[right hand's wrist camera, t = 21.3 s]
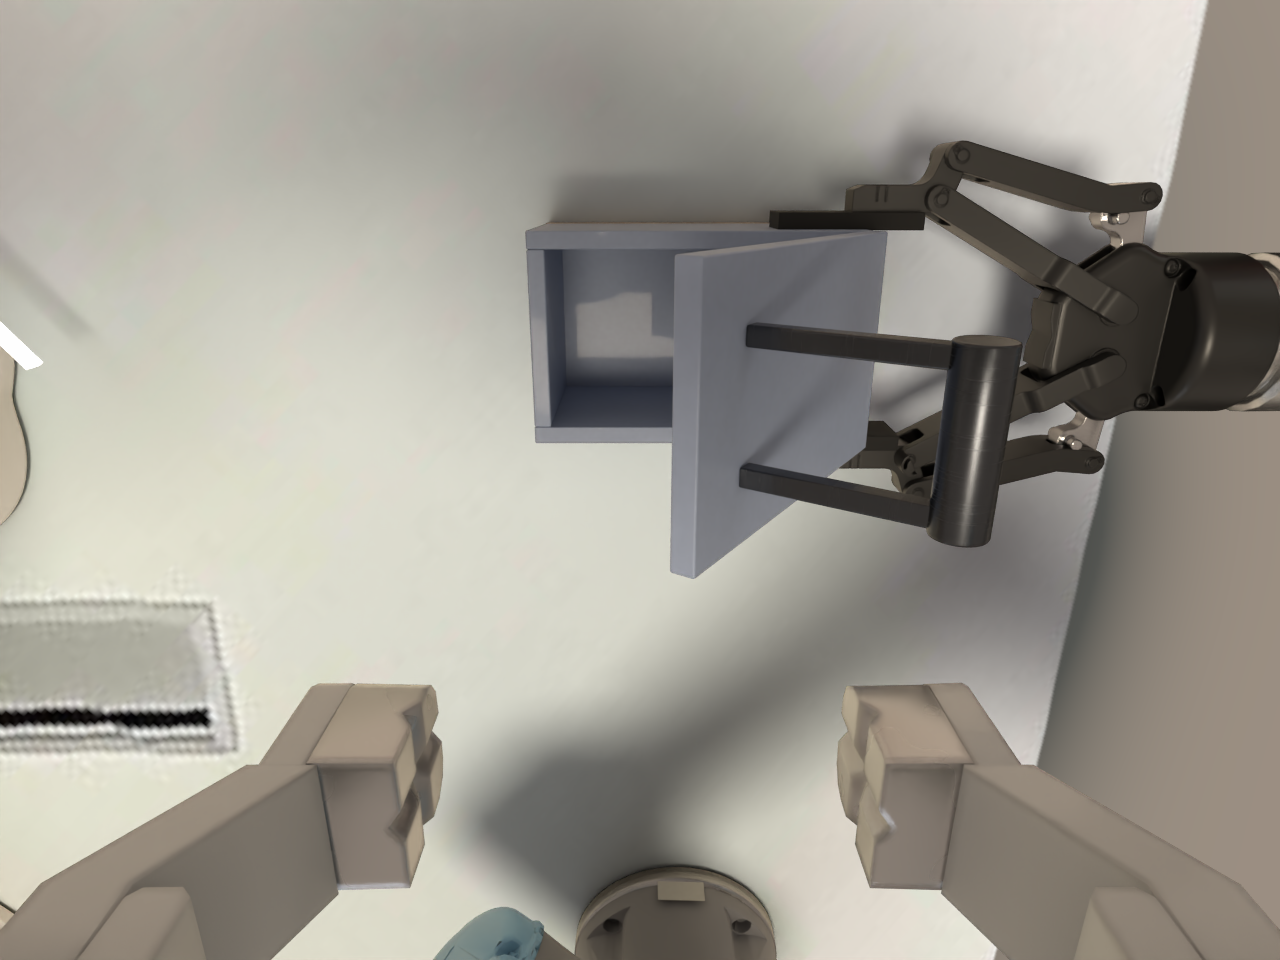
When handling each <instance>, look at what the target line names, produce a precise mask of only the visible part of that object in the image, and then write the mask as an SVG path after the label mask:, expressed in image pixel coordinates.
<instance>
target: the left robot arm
mask: <svg viewBox="0 0 1280 960" xmlns="http://www.w3.org/2000/svg"><path fill="white" fill-rule="evenodd" d="M929 160H930V163H929V166H928V168H927V170H926V172H925V174H924V176H923V177H922V178H921V179H920V180H919V181H918V182H916V183H914V184H910V185H856V186H853V187H851V188H848V189H846V198H845V209H844V211H770V221H769V227H771V228H775V229H867V230H924V223H925V217H927V218H929V219H930V220H932V221H933V222H935V223H937V224H938V225H940V226H941V227H943V228H945V229H946V230H948V231H949V232H951V233H953V234H954V235H956V236H957V237H959V238H961V239H962V240H964V241H965V242H967V243H969V244H970V245H972V246H973V247H975V248H977V249H978V250H980V251H981V252H983V253H985V254H986V255H988V256H989V257H991V258H993V259H994V260H996V261H997V262H999V263H1001V264H1002V265H1004V266H1005V267H1007V268H1008V269H1010V270H1012V271H1013V272H1015V273H1016V274H1018V275H1019V276H1020V278H1022V279H1023V280H1025V281H1026V282H1028V283H1030V284H1031V285H1033V286H1034V287H1036V288H1038V289H1039V290H1041V291H1042V292H1041V294H1040V296H1039V298H1034V299H1033V305H1032V310H1031V319H1032V332H1031V334H1030V336H1029V339H1028V341H1027V343H1026V346H1025V352H1024V357H1023V361H1025V362H1027V364H1025V365H1023V366H1021V367H1019V371H1018V377H1017V383H1016V389H1015V395H1014V401H1013V407H1012V413H1011V419H1010V423H1012V422H1014V421H1016V420H1018V419H1020V418H1022V417H1024V416H1026V415H1028V414H1031V413H1040V412H1044V411H1047V410H1049V409H1051V408H1053V407H1055V406H1057V405H1059V404H1061V403H1063V402H1064V403H1065V404H1067V405H1068V406H1069V407H1070V408H1071V409H1073V410H1074V411H1075V412H1076V415H1075V417H1074V418H1073V420H1072V421H1070V422H1069V423H1067V424H1063V425H1058V426H1056V427H1051V428H1050V429H1049V431H1048V435H1033V436H1027V437H1022V438H1018V439H1014V440H1010V441H1007V443H1006V449H1005V455H1004V461H1003V467H1002V473H1001V479H1000V485H1002V484H1006V483H1010V482H1014V481H1018V480H1023V479H1027V478H1031V477H1035V476H1039V475H1043V474H1047V473H1051V472H1056V471H1058V472H1070V473H1083V474H1094V473H1096V472H1098V471H1099V470H1100V469H1101V468H1102V467H1103V465H1104V460H1105V459H1104V456H1103V455H1102V454H1101V453H1100V452H1098V451H1097V450H1096V447H1097V444H1098V441H1099V437H1100V434H1101V431H1102V427H1103V424H1104V421H1105V420H1108V419H1111V418H1113V417H1115V416H1117V415H1119V414H1122V413H1125V412H1129V411H1219V410H1223V409H1227V410H1230V411H1280V253H1251V254H1249V255H1246V254H1242V253H1160V252H1157V251H1154V250H1153V249H1151V248H1150V247H1148V246H1147V245H1145V244H1143V237H1144V230H1145V222H1146V215H1147V211H1149V210H1152V209H1154V208H1155V207H1157V206H1158V204H1159V203H1160V202H1161V199H1162V196H1163V192H1162V188H1161V187H1160V185H1158V184H1157V183H1153V182H1133V183H1110V184H1105V183H1102V182H1099V181H1096V180H1092V179H1089V178H1086V177H1083V176H1079V175H1076V174H1073V173H1070V172H1066V171H1063V170H1060V169H1057V168H1053V167H1050V166H1047V165H1044V164H1040V163H1037V162H1034V161H1031V160H1027V159H1024V158H1021V157H1018V156H1014V155H1011V154H1008V153H1005V152H1002V151H998V150H995V149H992V148H989V147H985V146H982V145H979V144H976V143H972V142H969V141H957V142H950V143H943V144H940V145H937V146H936V147H935V148H934V149H933V150H932V152H931V154H930V159H929ZM961 179H966V180H969V181H972V182H975V183H979V184H982V185H985V186H989V187H992V188H995V189H998V190H1002V191H1005V192H1008V193H1012V194H1015V195H1018V196H1022V197H1025V198H1028V199H1031V200H1035V201H1038V202H1041V203H1045V204H1048V205H1051V206H1054V207H1058V208H1061V209H1065V210H1069V211H1076V212H1089V213H1090V214H1089V220H1090V222H1091V225H1092V226H1093V227H1094V228H1095V229H1098V230H1103V231H1105V232H1107V233H1108V235H1109V237H1110V244H1108V245H1106V246H1105V247H1103V248H1102V249H1100V250H1099V251H1097V252H1096V253H1094V254H1093V255H1091V256H1090V257H1088V258H1087V259H1085V260H1083V261H1082V262H1080V263H1079V264H1077V265H1076V264H1074V263H1072V262H1070V261H1068V260H1066V259H1064V258H1061V257H1059V256H1057V255H1056V254H1054V253H1053V252H1051V251H1050V250H1048V249H1046V248H1045V247H1043V246H1042V245H1040V244H1039V243H1037V242H1035V241H1034V240H1032V239H1031V238H1029V237H1028V236H1026V235H1024V234H1023V233H1021V232H1020V231H1018V230H1017V229H1015V228H1013V227H1012V226H1010V225H1009V224H1007V223H1006V222H1004V221H1002V220H1001V219H999V218H998V217H996V216H995V215H993V214H992V213H990V212H988V211H987V210H985V209H984V208H982V207H981V206H979V205H977V204H976V203H974V202H973V201H971V200H970V199H968V198H966V197H965V196H963V195H962V194H960V193H959V192H957V191H956V189H957V187H958V185H959V183H960V181H961ZM941 416H942V410H941V411H939V412H937V413H935V414H933V415H931V416H929V417H927V418H925V419H923V420H921V421H919V422H917V423H915V424H913V425H911V426H909V427H907V428H905V429H903V430H901V431H899V432H897V433H895V432H894V431H893V430H892V429H891V428H890V427H889V426H888V425H887V424H886V423H885V422H884V421H868V428H867V438H866V447H865V448H864V449H863V450H862V451H860V452H859V453H858V454H856V455H855V456H854V457H853V458H851V459H850V460H849V461H847V462H846V463H845V464H843V465H842V466H841V467H840V468H885V469H890V470H891V473H892V483H893V485H894V486H895V487H896V488H897V489H898V490H899V492H900V493H905V494H910V495H915V496H920V497H925V498H930V497H931V489H932V482H933V474H934V467H935V460H936V452H937V445H938V438H939V430H940V423H941ZM433 960H776V946H775V940H774V934H773V929H772V925H771V921H770V919H769V916H768V914H767V912H766V910H765V909H764V907H763V906H762V904H761V903H760V902H759V901H758V899H757V898H756V897H755V896H754V895H753V894H752V893H750V892H749V891H748V890H747V889H746V888H744V887H743V886H741V885H740V884H738V883H737V882H735V881H733V880H731V879H729V878H727V877H725V876H722V875H719V874H717V873H713V872H710V871H706V870H701V869H696V868H688V867H664V868H656V869H651V870H646V871H642V872H638V873H635V874H632V875H630V876H627V877H625V878H623V879H620V880H618V881H617V882H615V883H613V884H611V885H610V886H608V887H607V888H606V889H604V890H603V891H602V892H601V893H599V894H598V895H597V896H596V897H595V898H594V899H593V900H592V901H591V903H590V904H589V905H588V907H587V908H586V910H585V911H584V913H583V915H582V917H581V919H580V921H579V925H578V928H577V934H576V944H575V955H574V954H573V953H571V952H570V951H569V950H567V949H566V948H565V947H563V946H562V945H561V944H560V943H558V942H557V941H556V940H555V939H553V938H552V937H551V936H550V935H548V934H547V933H546V932H545V931H544V926H543V925H542V923H541V922H540V921H532V920H531V919H529V918H528V917H526V916H525V915H523V914H522V913H520V912H519V911H517V910H515V909H513V908H509V907H499V908H494V909H491V910H488V911H486V912H484V913H482V914H480V915H479V916H477V917H476V918H474V919H473V920H471V921H470V922H469V923H467V924H466V925H465V926H464V927H463V928H462V929H461V930H460V931H459V932H458V933H457V934H456V935H454V936H453V937H452V938H451V939H450V940H449V941H448V942H447V944H446V945H445V946H444V947H443V948H442V949H441V950H440V952H439V953H438V954H437V955H436V957H435V958H434V959H433Z"/></svg>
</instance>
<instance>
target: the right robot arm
mask: <svg viewBox="0 0 1280 960" xmlns="http://www.w3.org/2000/svg"><path fill="white" fill-rule="evenodd" d="M14 359H15V360H16V361H17V362H18V363H20V364H21V365H22V366H23V367H24V368H25V369H26V370H27V369H30V368H34V367H37V366H40V365H41V364H42V363H43V362H42V361H41V360H40V359H39V358H38V357H37V356H36V355H35V354H34V353H32V352H31V351H30V350H29V349H28V348H27V347H26V346H25V345H24V344H23V343H22V342H21V341H20V340H19V339H18V338H17V337H16V336H15V335H14V334H12V333H11V332H10V331H9V330H8V329H7V328H6V327H5V326H4V325H3V324H2V323H1V322H0V525H1V524H2V523H3V522H4V521H5V520H6V519H7V518H8V517H9V516H10V514H11V513H12V512H13V510H14V509H15V507H16V506H17V504H18V502H19V500H20V498H21V495H22V492H23V489H24V486H25V481H26V475H27V453H26V445H25V440H24V436H23V432H22V429H21V426H20V423H19V420H18V417H17V414H16V411H15V407H14V403H13V398H12V392H13V384H14V371H15V364H14ZM438 713H439V712H438V705H437V698H436V691H435V690H434V688H433V687H432V685H404V684H356V685H355V684H353V683H319V684H317V685H315V686H312V687H311V688H310V689H309V690H308V692H307V693H306V695H305V696H304V698H303V699H302V701H301V702H300V704H299V705H298V707H297V708H296V710H295V711H294V713H293V714H292V716H291V717H290V719H289V720H288V722H287V723H286V725H285V726H284V728H283V729H282V731H281V732H280V734H279V735H278V737H277V738H276V740H275V741H274V743H273V744H272V746H271V747H270V749H269V750H268V752H267V753H266V755H265V756H264V757H263V759H262V760H261V762H260V763H259V765H246V766H244V767H242V768H240V769H239V770H237V771H235V772H233V773H232V774H230V775H228V776H226V777H225V778H223V779H221V780H219V781H218V782H216V783H214V784H213V785H211V786H209V787H207V788H206V789H204V790H202V791H200V792H199V793H197V794H195V795H193V796H192V797H190V798H188V799H186V800H185V801H183V802H181V803H180V804H178V805H176V806H174V807H173V808H171V809H169V810H167V811H166V812H164V813H162V814H160V815H159V816H157V817H155V818H153V819H152V820H150V821H148V822H147V823H145V824H143V825H141V826H140V827H138V828H136V829H134V830H133V831H131V832H129V833H127V834H126V835H124V836H122V837H121V838H119V839H117V840H115V841H114V842H112V843H110V844H108V845H107V846H105V847H103V848H101V849H100V850H98V851H96V852H94V853H93V854H91V855H89V856H88V857H86V858H84V859H82V860H81V861H79V862H77V863H75V864H74V865H72V866H70V867H68V868H67V869H65V870H63V871H61V872H60V873H58V874H56V875H55V876H53V877H51V878H49V879H48V880H46V881H44V882H42V883H41V884H40V885H39V886H38V887H37V888H36V890H35V891H34V892H33V893H32V894H31V895H30V896H29V898H28V899H27V900H26V901H25V902H24V903H23V904H22V906H21V907H20V908H19V909H18V910H17V911H16V913H15V914H14V915H13V916H12V917H11V918H10V919H9V921H8V922H7V923H6V924H5V925H4V926H3V927H2V929H1V930H0V960H271V959H272V958H273V957H274V956H275V955H276V954H277V953H278V952H279V951H280V950H281V949H282V948H283V947H285V946H286V945H287V944H288V943H289V942H290V941H291V940H292V939H293V938H294V937H295V936H296V935H297V934H298V933H299V932H300V931H301V930H302V929H303V928H304V927H305V926H306V925H307V924H308V923H309V922H310V921H311V920H312V919H313V918H314V917H315V916H317V915H318V914H319V913H320V912H321V911H322V910H323V909H324V908H325V907H326V906H327V905H328V904H329V903H330V902H331V901H332V900H333V899H334V898H335V897H336V896H337V895H338V890H356V889H390V888H410V887H411V884H412V881H413V878H414V875H415V872H416V869H417V866H418V863H419V860H420V857H421V854H422V851H423V848H424V845H425V841H424V832H423V825H424V824H425V823H427V822H428V821H429V820H430V819H431V818H433V817H434V815H435V811H436V808H437V805H438V802H439V798H440V792H441V785H442V778H443V751H442V741H441V740H440V739H439V738H438V737H437V736H436V735H435V734H434V733H433V732H432V729H433V726H434V724H435V721H436V718H437V716H438ZM841 713H842V716H843V719H844V721H845V724H846V727H847V729H848V732H847V733H846V734H845V735H844V736H843V737H842V738H841V739H840V740H839V741H838V753H837V776H838V787H839V793H840V798H841V802H842V805H843V808H844V812H845V815H846V817H847V818H849V819H850V820H851V821H852V822H853V823H855V824H856V825H857V831H856V840H855V845H856V848H857V851H858V854H859V857H860V860H861V863H862V866H863V869H864V872H865V875H866V878H867V881H868V884H869V887H870V888H888V889H923V890H942V891H941V894H942V895H943V896H944V897H945V898H946V899H947V900H948V901H949V902H951V903H952V904H953V905H954V906H955V907H956V908H957V909H958V910H959V911H960V912H961V913H962V914H963V915H964V916H965V917H966V918H967V919H968V920H969V921H970V922H971V923H972V924H973V925H974V926H975V927H976V928H977V929H978V930H979V931H980V932H981V933H982V934H983V935H984V936H985V937H987V938H988V939H989V940H990V941H991V942H992V943H993V944H994V945H995V946H996V947H997V948H998V949H999V950H1000V951H1001V952H1002V953H1003V954H1004V955H1005V956H1006V957H1007V958H1008V959H1009V960H1280V930H1279V928H1278V927H1277V926H1276V925H1275V924H1274V923H1273V921H1272V920H1271V919H1270V918H1269V917H1268V916H1267V915H1266V913H1265V912H1264V911H1263V910H1262V909H1261V908H1260V906H1259V905H1258V904H1257V903H1256V902H1255V901H1254V899H1253V898H1252V897H1251V896H1250V895H1249V894H1248V893H1247V891H1246V890H1245V889H1244V888H1243V887H1242V886H1241V885H1240V884H1239V883H1237V882H1235V881H1233V880H1232V879H1230V878H1228V877H1227V876H1225V875H1223V874H1221V873H1220V872H1218V871H1216V870H1214V869H1213V868H1211V867H1209V866H1207V865H1206V864H1204V863H1202V862H1201V861H1199V860H1197V859H1195V858H1194V857H1192V856H1190V855H1188V854H1187V853H1185V852H1183V851H1182V850H1180V849H1178V848H1176V847H1175V846H1173V845H1171V844H1169V843H1168V842H1166V841H1164V840H1162V839H1161V838H1159V837H1157V836H1156V835H1154V834H1152V833H1150V832H1149V831H1147V830H1145V829H1143V828H1142V827H1140V826H1138V825H1136V824H1135V823H1133V822H1131V821H1130V820H1128V819H1126V818H1124V817H1123V816H1121V815H1119V814H1118V813H1116V812H1114V811H1112V810H1111V809H1109V808H1107V807H1105V806H1104V805H1102V804H1100V803H1098V802H1097V801H1095V800H1093V799H1092V798H1090V797H1088V796H1086V795H1085V794H1083V793H1081V792H1079V791H1078V790H1076V789H1074V788H1072V787H1071V786H1069V785H1067V784H1066V783H1064V782H1062V781H1060V780H1059V779H1057V778H1055V777H1053V776H1052V775H1050V774H1048V773H1047V772H1045V771H1043V770H1041V769H1040V768H1038V767H1036V766H1034V765H1021V764H1020V762H1019V761H1018V759H1017V758H1016V756H1015V755H1014V753H1013V752H1012V750H1011V749H1010V747H1009V746H1008V744H1007V743H1006V741H1005V740H1004V739H1003V737H1002V736H1001V734H1000V733H999V731H998V730H997V728H996V727H995V725H994V724H993V722H992V721H991V719H990V718H989V716H988V715H987V713H986V712H985V711H984V709H983V708H982V706H981V705H980V703H979V702H978V700H977V699H976V697H975V696H974V694H973V693H972V691H971V690H970V688H969V687H968V686H966V685H964V684H963V683H941V684H923V685H885V686H847V687H846V690H845V693H844V696H843V703H842V712H841Z"/></svg>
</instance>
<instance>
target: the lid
mask: <svg viewBox="0 0 1280 960" xmlns="http://www.w3.org/2000/svg"><path fill="white" fill-rule="evenodd" d="M887 234H888V233H887V232H886V231H864V232H856V233H848V234H840V235H832V236H823V237H815V238H807V239H799V240H790V241H782V242H774V243H766V244H758V245H749V246H741V247H733V248H725V249H716V250H708V251H700V252H692V253H684V254H677V255H675V277H674V346H673V416H672V486H671V556H670V571H671V572H672V573H675V574H678V575H681V576H685V577H688V578H692V579H695V578H696V577H698V576H699V575H700V574H701V573H703V572H704V571H705V570H707V569H708V568H709V567H711V566H712V565H713V564H714V563H716V562H717V561H718V560H720V559H721V558H722V557H724V556H725V555H726V554H727V553H729V552H730V551H731V550H733V549H734V548H735V547H737V546H738V545H739V544H741V543H742V542H743V541H744V540H746V539H747V538H748V537H750V536H751V535H752V534H754V533H755V532H756V531H757V530H759V529H760V528H761V527H763V526H764V525H765V524H767V523H768V522H769V521H770V520H772V519H773V518H774V517H776V516H777V515H778V514H780V513H781V512H782V511H784V510H785V509H786V508H787V507H789V506H790V505H791V504H793V503H794V502H795V501H797V500H800V501H804V502H809V503H814V504H818V505H823V506H827V507H832V508H836V509H841V510H846V511H850V512H855V513H859V514H864V515H869V516H873V517H878V518H882V519H887V520H891V521H896V522H901V523H905V524H910V525H914V526H919V527H924V528H926V531H927V534H928V535H929V536H930V537H931V538H933V539H934V540H936V541H938V542H941V543H944V544H947V545H951V546H957V547H979V546H983V545H985V544H987V543H988V542H989V541H990V538H991V532H992V526H993V520H994V514H995V508H996V502H997V497H998V491H999V485H1000V479H1001V473H1002V467H1003V461H1004V455H1005V449H1006V443H1007V437H1008V431H1009V425H1010V419H1011V413H1012V407H1013V401H1014V395H1015V389H1016V383H1017V377H1018V371H1019V365H1020V359H1021V353H1022V347H1023V346H1022V343H1021V342H1020V341H1018V340H1015V339H1011V338H1006V337H1000V336H989V335H964V336H958V337H955V338H953V340H952V341H949V340H939V339H928V338H918V337H907V336H897V335H886V334H877V331H878V321H879V312H880V302H881V292H882V283H883V273H884V263H885V253H886V244H887ZM874 362H880V363H889V364H898V365H907V366H915V367H924V368H933V369H942V370H948V371H947V379H946V386H945V393H944V401H943V408H942V416H941V423H940V430H939V438H938V445H937V452H936V460H935V467H934V474H933V482H932V489H931V497H930V498H925V497H920V496H915V495H910V494H905V493H900V492H895V491H890V490H885V489H880V488H875V487H870V486H865V485H859V484H854V483H849V482H844V481H839V480H834V479H829V478H827V477H828V476H829V475H830V474H832V473H833V472H834V471H836V470H837V469H838V468H840V467H841V466H842V465H843V464H845V463H846V462H847V461H849V460H850V459H851V458H853V457H854V456H855V455H856V454H858V453H859V452H860V451H862V450H863V449H864V448H865V447H866V438H867V428H868V418H869V409H870V399H871V389H872V380H873V370H874Z"/></svg>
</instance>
